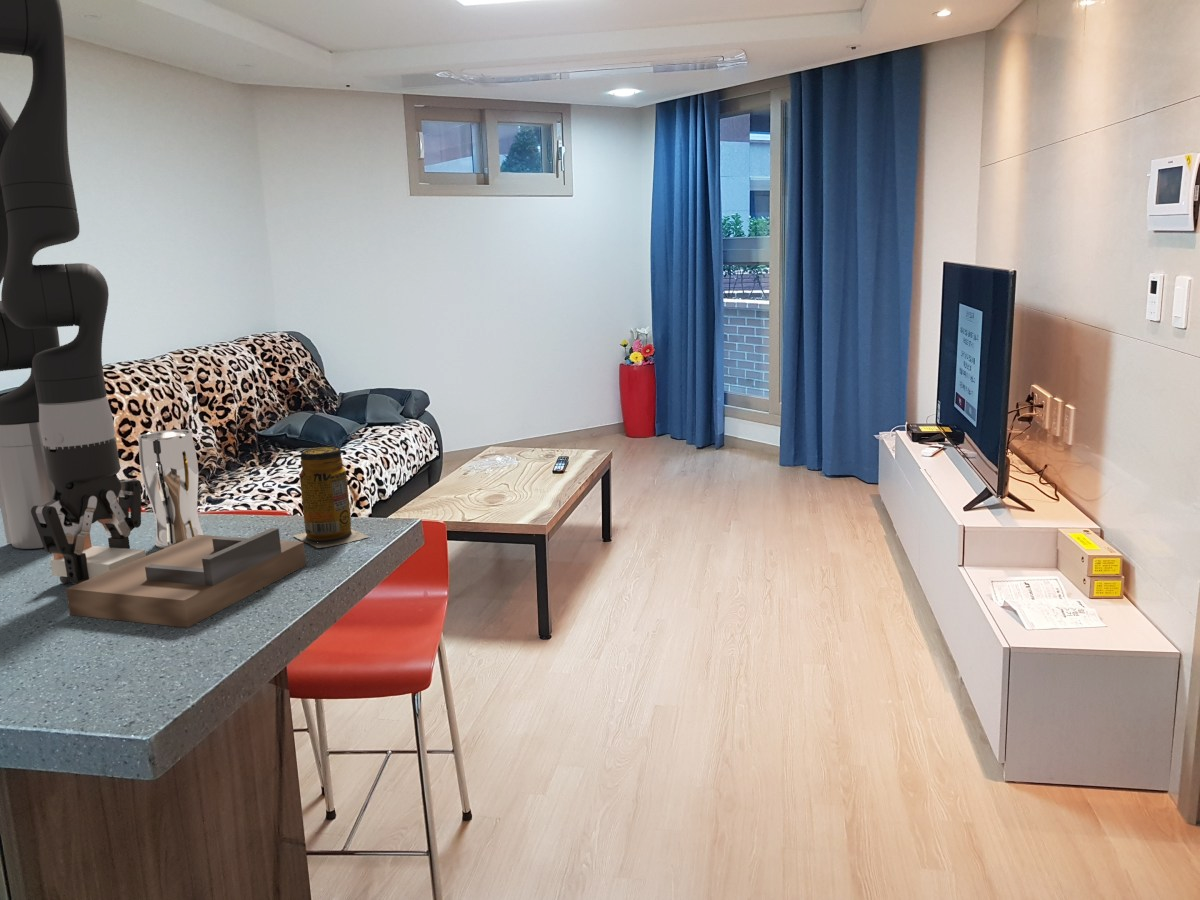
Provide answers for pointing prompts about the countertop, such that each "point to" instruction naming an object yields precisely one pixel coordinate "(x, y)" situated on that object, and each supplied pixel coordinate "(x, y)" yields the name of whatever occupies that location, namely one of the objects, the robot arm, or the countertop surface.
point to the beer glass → (171, 484)
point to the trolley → (97, 559)
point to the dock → (187, 579)
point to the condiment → (325, 499)
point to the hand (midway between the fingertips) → (101, 574)
